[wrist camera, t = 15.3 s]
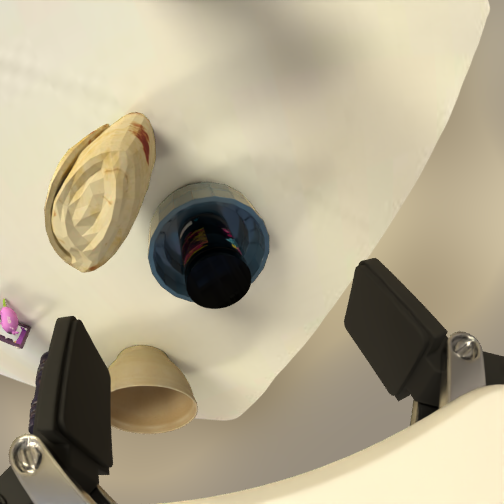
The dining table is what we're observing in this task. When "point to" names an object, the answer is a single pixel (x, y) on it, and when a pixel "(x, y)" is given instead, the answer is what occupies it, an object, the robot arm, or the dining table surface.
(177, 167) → the dining table surface
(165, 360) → the planter bowl
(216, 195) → the basin
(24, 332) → the pink toy figurine
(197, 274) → the supplement container
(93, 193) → the food model
